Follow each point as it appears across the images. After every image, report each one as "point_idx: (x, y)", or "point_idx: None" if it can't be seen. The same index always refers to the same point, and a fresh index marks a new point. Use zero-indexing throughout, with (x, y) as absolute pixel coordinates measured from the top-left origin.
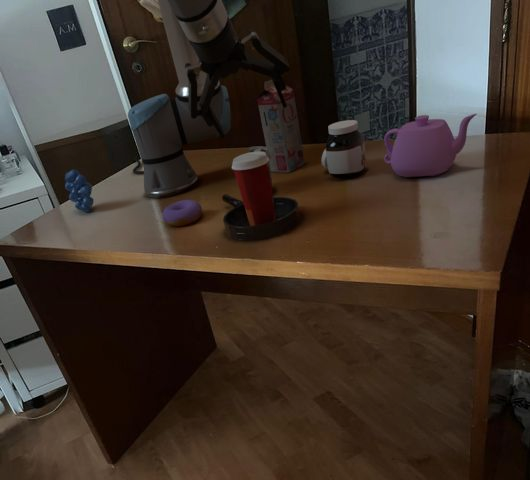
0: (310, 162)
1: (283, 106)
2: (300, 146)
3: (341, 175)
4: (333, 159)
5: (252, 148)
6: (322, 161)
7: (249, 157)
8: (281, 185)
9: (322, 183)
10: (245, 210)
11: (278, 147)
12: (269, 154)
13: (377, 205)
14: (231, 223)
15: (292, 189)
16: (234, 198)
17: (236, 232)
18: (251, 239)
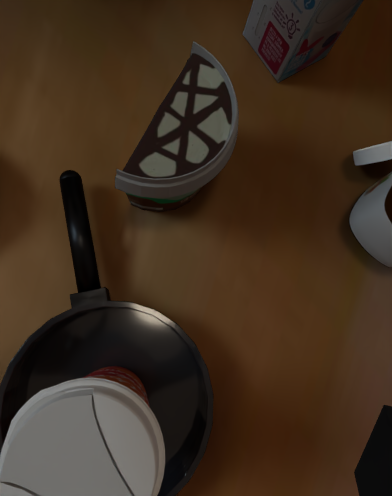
0: (339, 58)
1: (360, 484)
2: (344, 23)
3: (368, 253)
4: (381, 237)
5: (200, 51)
6: (358, 156)
7: (77, 486)
8: (233, 156)
9: (318, 230)
10: (90, 310)
11: (287, 15)
12: (230, 149)
13: None
14: (39, 343)
15: (247, 209)
16: (80, 234)
17: None
18: None
